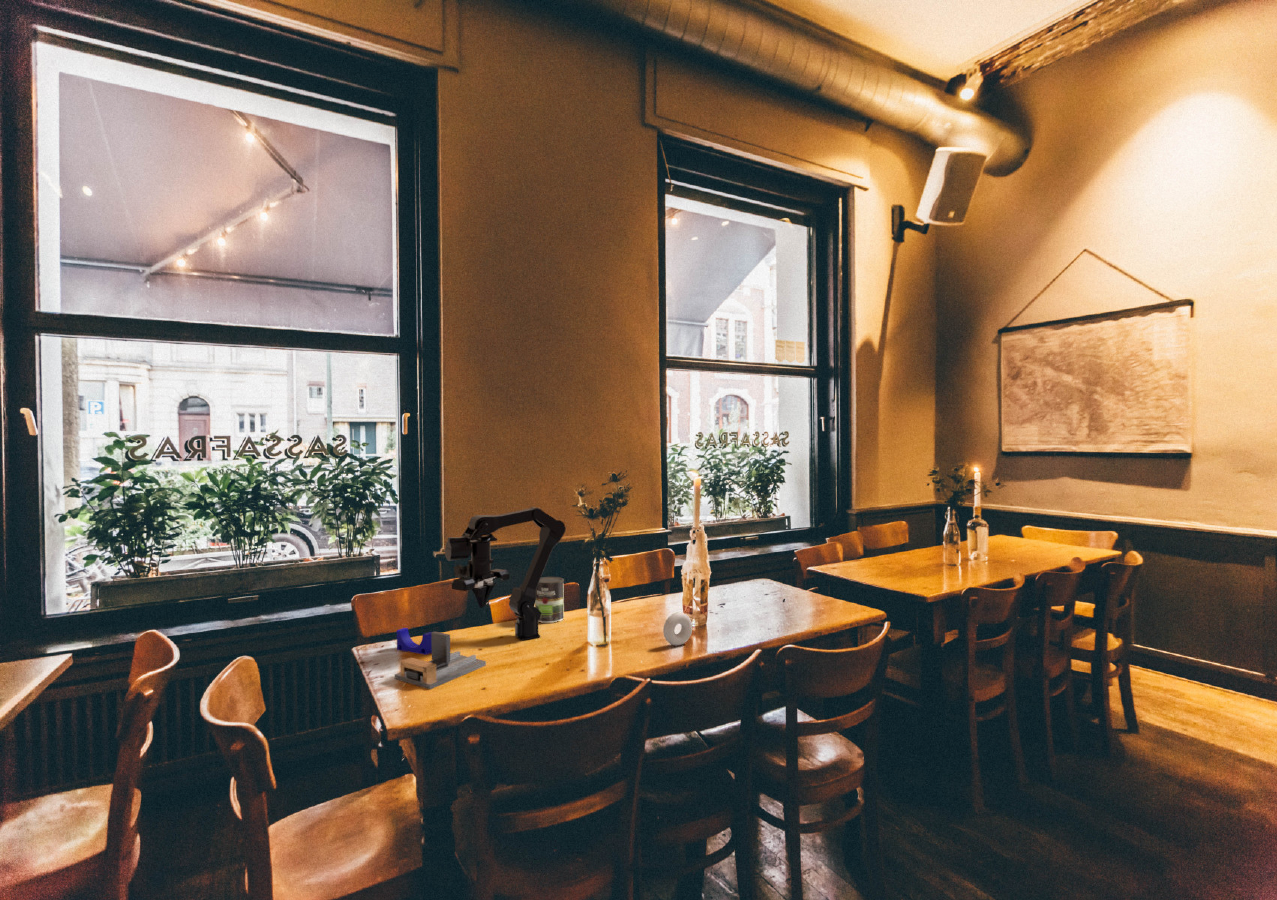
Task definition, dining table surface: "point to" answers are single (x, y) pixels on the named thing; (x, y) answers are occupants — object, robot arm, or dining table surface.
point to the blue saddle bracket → (408, 645)
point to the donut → (670, 626)
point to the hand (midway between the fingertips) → (481, 607)
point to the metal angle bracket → (435, 653)
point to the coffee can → (550, 599)
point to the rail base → (438, 670)
